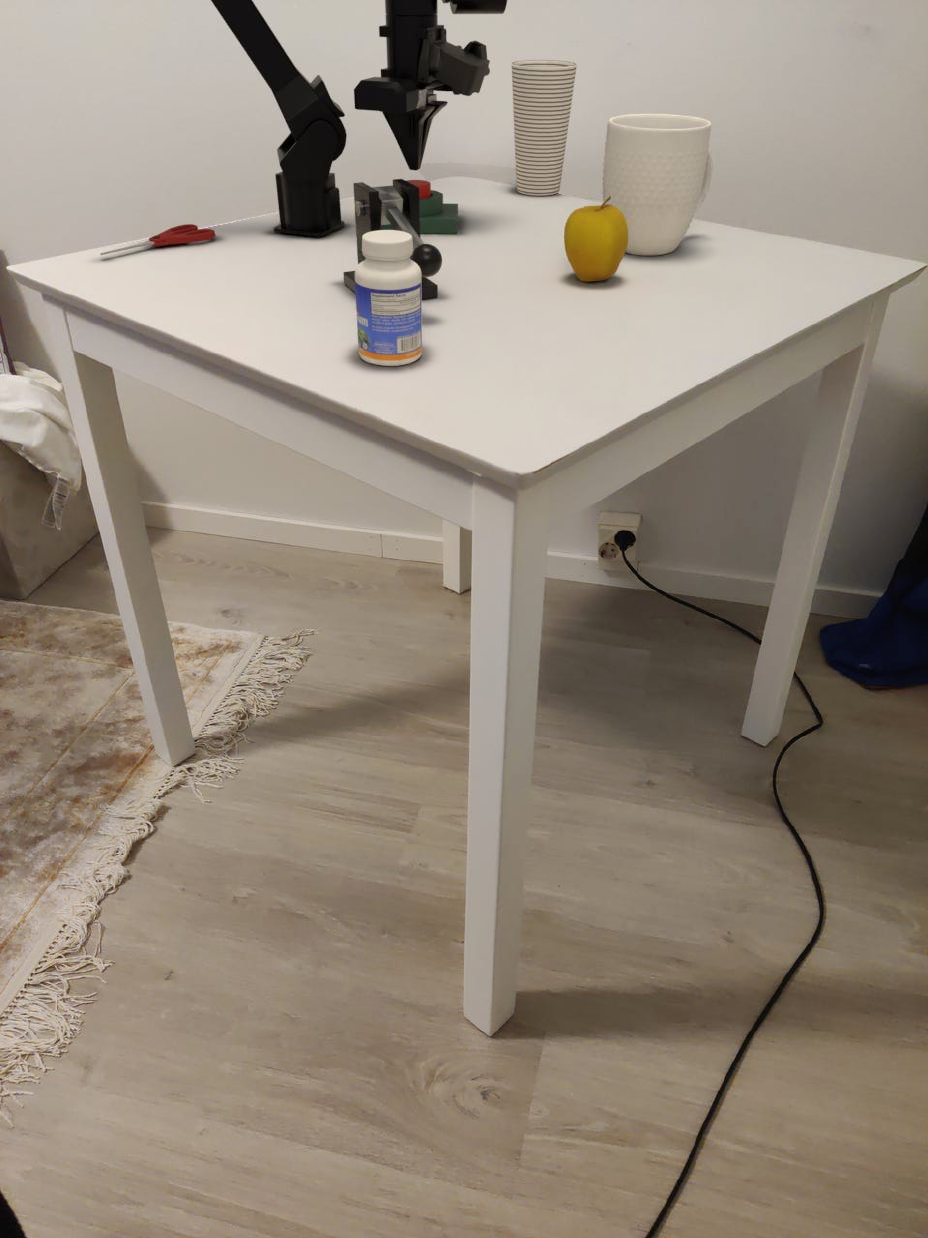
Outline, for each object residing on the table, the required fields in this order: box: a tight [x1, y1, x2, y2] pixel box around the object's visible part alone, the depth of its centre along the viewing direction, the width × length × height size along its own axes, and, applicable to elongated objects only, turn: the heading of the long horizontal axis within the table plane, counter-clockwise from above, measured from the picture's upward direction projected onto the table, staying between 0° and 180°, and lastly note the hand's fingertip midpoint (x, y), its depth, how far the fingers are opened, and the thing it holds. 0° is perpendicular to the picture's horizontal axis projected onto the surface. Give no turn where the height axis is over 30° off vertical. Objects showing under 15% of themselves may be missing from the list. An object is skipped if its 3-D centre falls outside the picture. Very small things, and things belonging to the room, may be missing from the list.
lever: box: [371, 185, 443, 278], centre depth 88 cm, size 13×3×3 cm, turn 25°
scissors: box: [99, 223, 216, 256], centre depth 108 cm, size 5×14×1 cm, turn 140°
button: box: [406, 179, 432, 199], centre depth 115 cm, size 4×4×2 cm
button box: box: [380, 189, 459, 235], centre depth 116 cm, size 10×8×4 cm
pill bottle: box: [354, 230, 423, 367], centre depth 78 cm, size 5×5×10 cm
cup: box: [511, 59, 578, 197], centre depth 128 cm, size 8×8×16 cm
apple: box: [563, 196, 628, 282], centre depth 96 cm, size 6×6×8 cm
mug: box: [602, 113, 713, 257], centre depth 106 cm, size 15×11×13 cm
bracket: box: [342, 178, 439, 300], centre depth 92 cm, size 8×7×10 cm
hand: (414, 169), depth 113 cm, fingers closed
